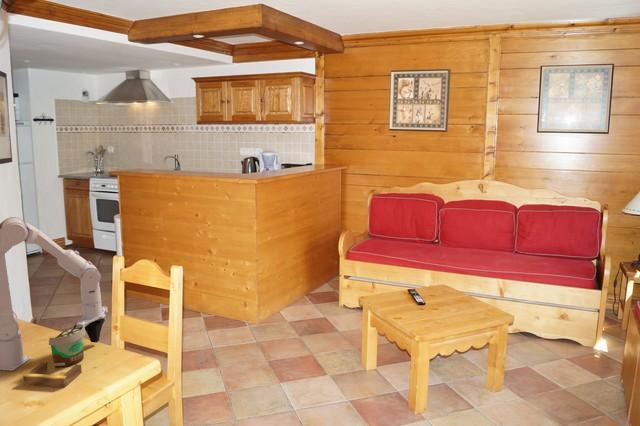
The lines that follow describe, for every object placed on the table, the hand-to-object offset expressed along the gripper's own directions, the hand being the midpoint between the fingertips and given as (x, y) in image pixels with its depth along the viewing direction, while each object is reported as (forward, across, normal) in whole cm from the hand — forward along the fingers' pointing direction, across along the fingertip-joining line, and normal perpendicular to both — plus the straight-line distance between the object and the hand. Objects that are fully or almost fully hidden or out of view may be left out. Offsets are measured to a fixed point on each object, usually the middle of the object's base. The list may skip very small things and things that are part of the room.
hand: (94, 341), depth 164 cm
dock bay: (+1, -22, 0) cm, 22 cm away
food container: (+1, -11, 0) cm, 11 cm away
